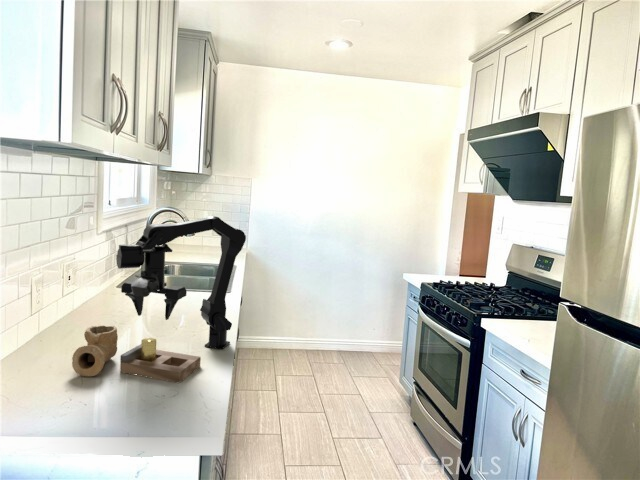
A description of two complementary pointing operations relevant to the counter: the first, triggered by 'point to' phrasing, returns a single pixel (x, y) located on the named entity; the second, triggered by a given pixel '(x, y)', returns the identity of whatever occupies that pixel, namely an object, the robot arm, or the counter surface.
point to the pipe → (95, 350)
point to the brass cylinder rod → (148, 349)
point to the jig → (160, 364)
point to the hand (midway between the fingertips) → (153, 317)
